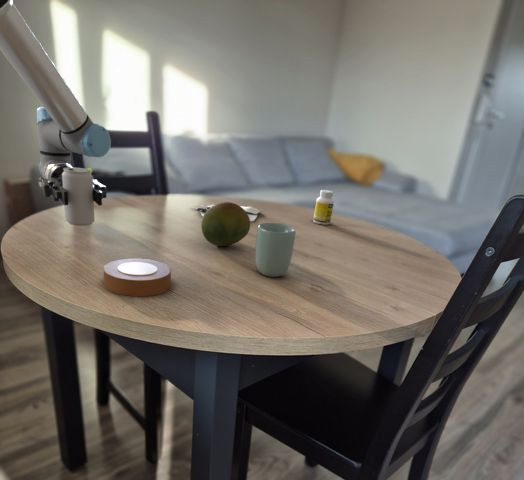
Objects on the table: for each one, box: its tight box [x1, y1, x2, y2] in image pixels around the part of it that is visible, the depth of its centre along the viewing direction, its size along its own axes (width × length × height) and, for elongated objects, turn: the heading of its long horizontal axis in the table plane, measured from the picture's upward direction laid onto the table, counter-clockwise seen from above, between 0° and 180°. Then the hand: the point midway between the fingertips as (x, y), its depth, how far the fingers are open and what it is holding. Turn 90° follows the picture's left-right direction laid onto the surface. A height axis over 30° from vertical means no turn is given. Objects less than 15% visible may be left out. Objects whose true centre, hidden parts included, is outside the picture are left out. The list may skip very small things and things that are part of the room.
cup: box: [254, 222, 296, 278], centre depth 101 cm, size 8×8×10 cm
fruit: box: [200, 201, 251, 247], centre depth 116 cm, size 12×12×10 cm
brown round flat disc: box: [102, 258, 172, 297], centre depth 89 cm, size 12×12×3 cm
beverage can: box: [62, 166, 95, 227], centre depth 109 cm, size 6×6×12 cm
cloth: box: [193, 203, 261, 222], centre depth 149 cm, size 20×22×2 cm
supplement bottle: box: [312, 189, 335, 226], centre depth 150 cm, size 5×5×10 cm
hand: (83, 198), depth 105 cm, fingers closed on beverage can, 6 cm apart
